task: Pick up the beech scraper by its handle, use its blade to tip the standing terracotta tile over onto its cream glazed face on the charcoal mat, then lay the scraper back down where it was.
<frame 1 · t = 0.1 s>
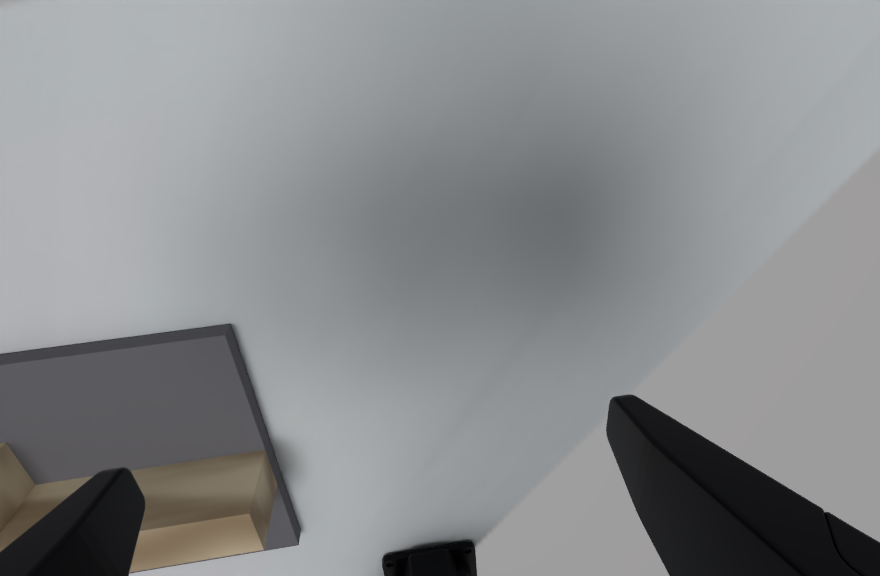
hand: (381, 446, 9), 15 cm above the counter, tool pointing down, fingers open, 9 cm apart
beech scraper: (161, 484, 27), point 1 cm above the counter, touching charcoal mat
charcoal mat: (21, 479, 27), on the counter
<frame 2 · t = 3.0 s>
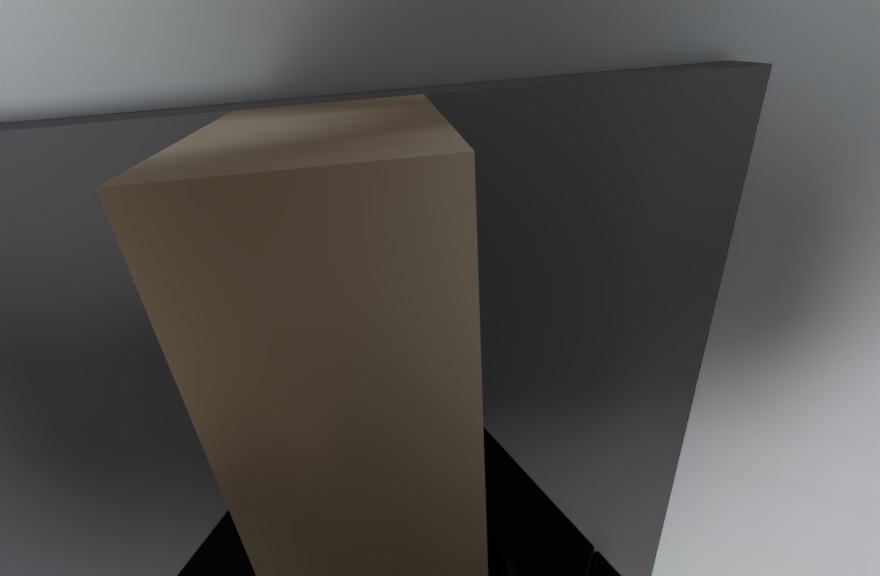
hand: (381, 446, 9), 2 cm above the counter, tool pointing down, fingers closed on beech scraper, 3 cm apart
beech scraper: (380, 410, 10), point 1 cm above the counter, touching charcoal mat, gripper
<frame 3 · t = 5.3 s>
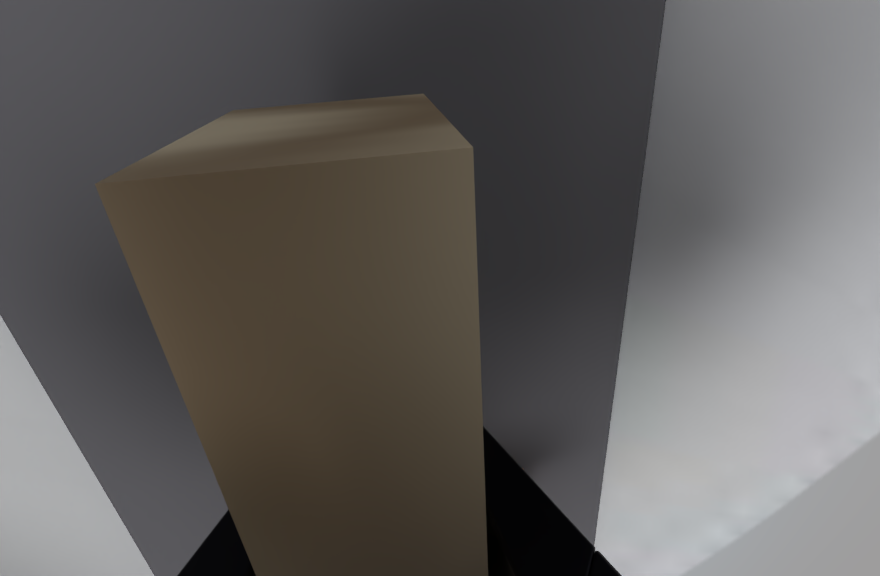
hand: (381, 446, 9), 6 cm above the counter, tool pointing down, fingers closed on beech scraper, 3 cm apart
beech scraper: (380, 410, 10), point 5 cm above the counter, touching gripper
charcoal mat: (350, 335, 14), on the counter
when the fingers open (2 cm above the counter, at t = 7.9 s): beech scraper stays where it is, resting on charcoal mat.
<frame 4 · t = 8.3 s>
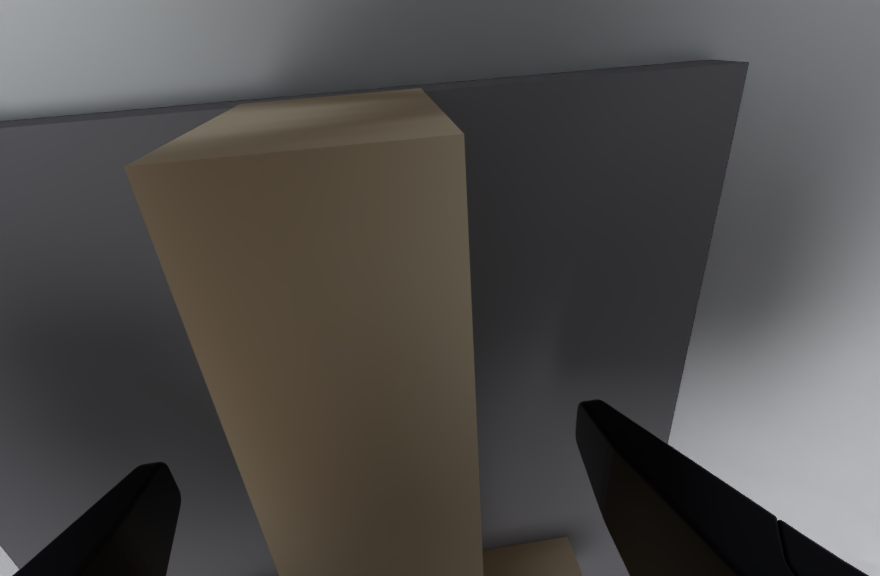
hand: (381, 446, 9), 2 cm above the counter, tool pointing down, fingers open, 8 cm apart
beech scraper: (380, 393, 10), point 1 cm above the counter, touching charcoal mat
charcoal mat: (377, 568, 15), on the counter
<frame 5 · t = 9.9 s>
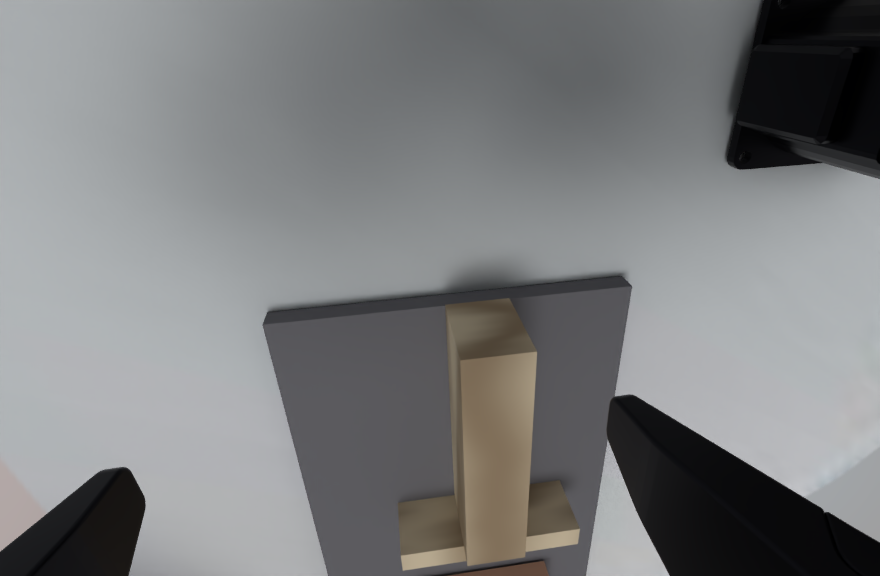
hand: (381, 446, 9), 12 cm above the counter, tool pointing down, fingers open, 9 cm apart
beech scraper: (478, 407, 24), point 1 cm above the counter, touching charcoal mat
charcoal mat: (458, 497, 28), on the counter
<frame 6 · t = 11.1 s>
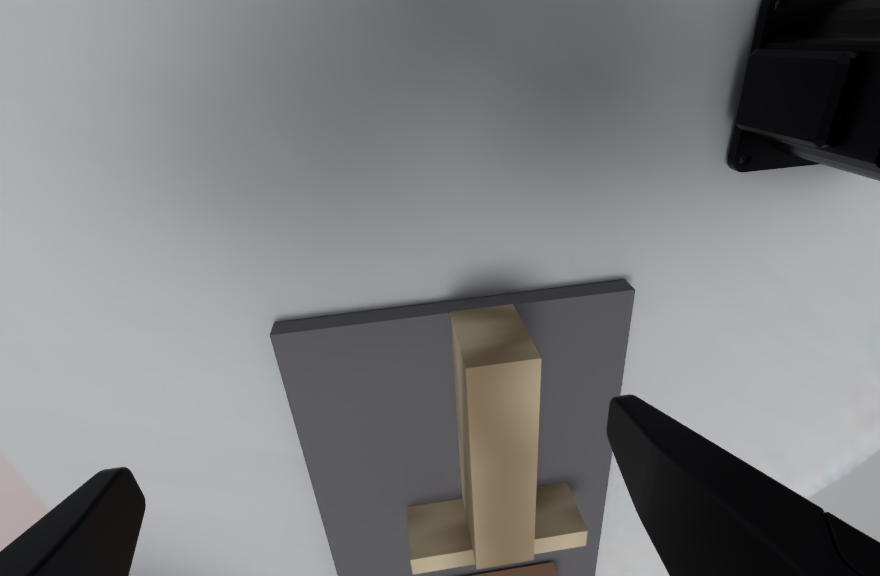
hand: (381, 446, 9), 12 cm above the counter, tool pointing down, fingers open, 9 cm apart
beech scraper: (484, 412, 24), point 1 cm above the counter, touching charcoal mat
charcoal mat: (466, 500, 28), on the counter
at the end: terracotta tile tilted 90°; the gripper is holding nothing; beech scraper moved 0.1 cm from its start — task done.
